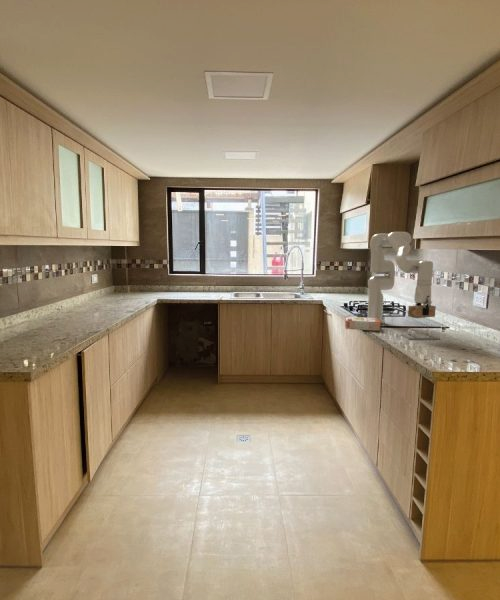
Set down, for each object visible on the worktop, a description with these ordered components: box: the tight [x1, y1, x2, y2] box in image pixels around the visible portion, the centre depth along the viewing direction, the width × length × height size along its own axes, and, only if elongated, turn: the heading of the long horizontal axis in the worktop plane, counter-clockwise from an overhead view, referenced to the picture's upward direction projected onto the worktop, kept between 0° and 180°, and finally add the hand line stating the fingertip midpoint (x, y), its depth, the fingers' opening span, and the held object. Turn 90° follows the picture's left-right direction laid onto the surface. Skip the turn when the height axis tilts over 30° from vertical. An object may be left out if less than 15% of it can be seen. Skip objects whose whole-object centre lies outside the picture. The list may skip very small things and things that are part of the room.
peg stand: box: [400, 328, 441, 341], centre depth 213 cm, size 10×18×4 cm, turn 93°
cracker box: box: [344, 316, 382, 332], centre depth 236 cm, size 14×6×21 cm
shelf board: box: [407, 304, 437, 319], centre depth 211 cm, size 6×14×6 cm, turn 112°
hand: (421, 313), depth 212 cm, fingers closed on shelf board, 7 cm apart
